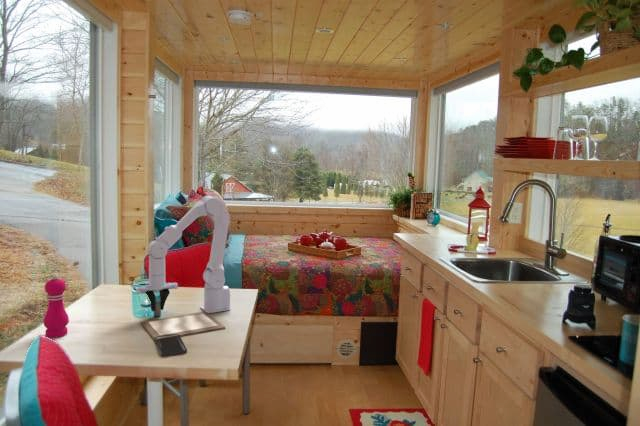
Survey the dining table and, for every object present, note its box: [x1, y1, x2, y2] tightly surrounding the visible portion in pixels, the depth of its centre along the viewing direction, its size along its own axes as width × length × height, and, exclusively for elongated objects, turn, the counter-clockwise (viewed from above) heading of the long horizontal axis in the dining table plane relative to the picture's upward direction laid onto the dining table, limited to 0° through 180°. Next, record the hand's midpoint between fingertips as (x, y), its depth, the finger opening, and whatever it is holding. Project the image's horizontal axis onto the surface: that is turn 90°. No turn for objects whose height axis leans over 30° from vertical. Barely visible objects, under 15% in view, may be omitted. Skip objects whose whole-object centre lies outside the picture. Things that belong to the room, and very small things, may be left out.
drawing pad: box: [140, 311, 226, 341], centre depth 171 cm, size 24×18×1 cm
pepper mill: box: [43, 274, 70, 339], centre depth 157 cm, size 7×7×20 cm
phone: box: [154, 334, 188, 358], centre depth 153 cm, size 8×1×15 cm
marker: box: [153, 294, 162, 317], centre depth 179 cm, size 3×3×7 cm
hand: (157, 309), depth 179 cm, fingers closed on marker, 3 cm apart
